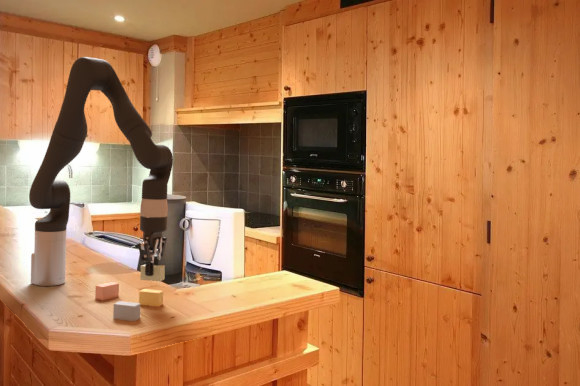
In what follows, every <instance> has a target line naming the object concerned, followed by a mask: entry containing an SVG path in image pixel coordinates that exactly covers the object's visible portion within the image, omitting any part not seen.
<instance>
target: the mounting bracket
mask: <svg viewBox="0 0 580 386" xmlns="http://www.w3.org/2000/svg"><path fill="white" fill-rule="evenodd" d="M199 286H201V284H199V283H193V282H183V283H182V284H181V287H182V288H190V287H191V288H196V287H199Z"/></svg>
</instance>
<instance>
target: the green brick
mask: <svg viewBox="0 0 580 386" xmlns="http://www.w3.org/2000/svg"><path fill="white" fill-rule="evenodd" d="M165 266H166V265H162V264H159V265H154V267H153V275H152V276H146V275H145V264H143V265H140V281H147V282H148V281H151V282H162V281H164V280H165V275H166V272H165V269H166V267H165Z"/></svg>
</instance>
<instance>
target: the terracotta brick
mask: <svg viewBox="0 0 580 386" xmlns="http://www.w3.org/2000/svg"><path fill="white" fill-rule="evenodd" d="M119 292H120V284H119V283H118V282H114V281H111V282H106V283H100V284H97V285H95V297H94V298H95V299H96V300H100V301H104V300H105V301H106V300H109V299H112V298H117V297H119Z"/></svg>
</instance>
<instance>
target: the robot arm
mask: <svg viewBox="0 0 580 386" xmlns="http://www.w3.org/2000/svg"><path fill="white" fill-rule="evenodd" d="M68 75H69V76H68V78H67V84H66V87H65V88H66V89H65V94H64V97H63V101H62V103H61V104H62V105H61V106H60V111H59V113H58V117H57V120H56V122H55V125H54V126H53V130H52V132H51V135H50V140H49V143H48V146H47V148H46V152H45V153H44V154H45V155H44V157H43V160H42V162H41V164H40V166H39V168H38V170H37V173H36V175H35V177H34V179H33V181H32V184H31V186H30V189H29V194H28V195H29V196H28V197H29V203H30V205H31V207H33V209H37V210H49V212H48V213H47V215H45V216H43V217H42V218H40V219H38V220H36V221H35V223H34V249H33V250H34V251H33V253H31V256H30V259H31V260H30V261H31V262H30V284H33V285H35V286H41V287H50V286H51V287H53V286H59V285H63V284H65V282H66V263H67V262H66V257H67V256H66V255H67V226H68V223H69V218H70V208H71V189H70V186H69V183H68V182H67V181H66V180H64V179H63V180H61V179H57V177H58V175H59V174H60V172H61V171H62V170H63V169H64V168H65V167H66V166H67V165H69V164H70V163H71V162H72V161H73V160H74V159H75V158H77V156H78V155H79V154H80V153H81V151H82V149H83V146H84V144H85V141H86V138H87V135H88V123H87V122H88V121H87V119H86V114H85V107H86V102H87V99H88V96H89V94H90V92H91V91H100V92H101V93H102V94H103V95H104V96H105V97H106V98H107V99H108V101H109V102H110V104H111V106H112V110H113V111H112V112H113V116H114V121H115V123H116V126H117V127H118V128H119V131H121V133H122V134H123V135H124V137H125V138H126V141H128V142H129V145H130V146H131V149H132V152H133V154H134V156H135V158H136V160H137V162H138V163H139V164H140V165H141V166H142V167H143V168H145V169H148V170H150V171H149V174H148V177H146V178H144V179H143V181H142V184H141V202H140V211H139V212H140V213H139V218H140V219H139V230H140V232H143V233H144V234H143V241H142V242H138V244H137V246H138V247H137V248H138V251H139V252H138V253H139V256H140V261H141V262H144V265H145V275H146V276H152V275H153V267H154V265H160V261H161V258H163V257H164V256H165V255H164V253H165V249H166V244H167V241H168V240H167V237H164V236H163V233H165V232H167V231H168V212H169V210H168V208H169V207H168V184H169V180H170V178H171V177H170V176H171V173H172V170H173V166H174V165H173V164H174V156H173V152H172V151H171V149H170V147H168V146H166V145H165V144H156V143H154V141H153V140H152V135H153V133H152V129H151V128H150V126H149V125H148V124H147V122H146V121H145V120H144V119H143V117H142V116H141V114H140V113H139V111H138V110H137V109H136V108H135V106H134V104H133V103H132V101H131V98H129V95H128V94H127V91H126V90H125V88H124V86H123V84H122V83H121V79H120V78H119V77H118V74H117V73H116V70H115V69H114V68H113V65H112V64H111V63H110V62H109V61H107V60H105V59H102V58H96V57H89V56H81V57H78V58H77V59H76V60H74V62H73V63H72V66H71V68H70V71H69V74H68Z"/></svg>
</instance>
